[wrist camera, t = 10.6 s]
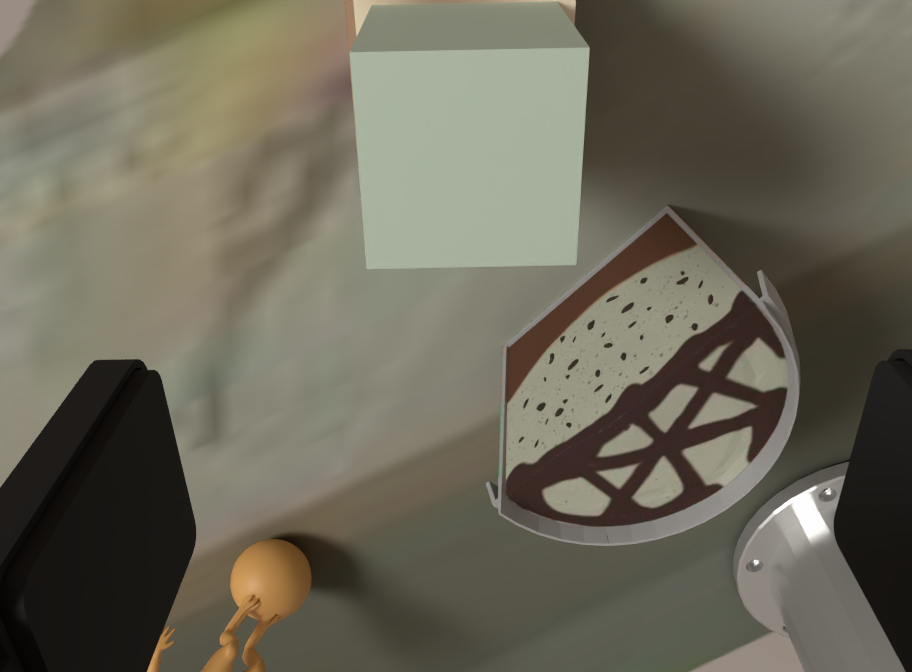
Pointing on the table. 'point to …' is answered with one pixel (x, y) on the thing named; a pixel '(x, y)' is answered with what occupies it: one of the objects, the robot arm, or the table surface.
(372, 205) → the green block
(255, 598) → the figurine
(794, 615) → the robot arm
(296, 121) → the table surface
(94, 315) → the table surface
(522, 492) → the food container
